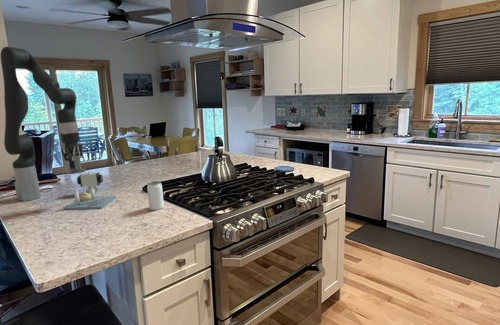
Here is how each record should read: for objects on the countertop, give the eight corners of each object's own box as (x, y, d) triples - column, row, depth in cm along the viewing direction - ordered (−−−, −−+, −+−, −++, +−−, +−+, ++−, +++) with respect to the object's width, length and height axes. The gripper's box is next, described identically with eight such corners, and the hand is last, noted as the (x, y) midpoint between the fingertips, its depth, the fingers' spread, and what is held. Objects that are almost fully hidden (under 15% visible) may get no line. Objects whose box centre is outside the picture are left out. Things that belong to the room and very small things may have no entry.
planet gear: (63, 174, 148) (60, 157, 146) (73, 170, 155) (70, 154, 154) (80, 173, 147) (77, 156, 146) (88, 169, 155) (86, 153, 153)
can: (150, 211, 141) (148, 185, 138) (148, 207, 146) (145, 182, 144) (165, 208, 143) (162, 183, 141) (162, 204, 149) (159, 180, 147)
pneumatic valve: (102, 193, 170) (99, 172, 167) (79, 195, 167) (75, 173, 165) (105, 190, 175) (102, 169, 172) (82, 192, 173) (79, 171, 170)
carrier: (63, 209, 146) (60, 192, 145) (81, 198, 162) (79, 182, 160) (101, 208, 146) (99, 191, 144) (116, 197, 162) (114, 181, 160)
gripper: (70, 130, 154) (76, 164, 158) (51, 134, 140) (59, 171, 144) (85, 129, 154) (91, 164, 158) (68, 133, 140) (75, 170, 144)
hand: (75, 167), depth 151 cm, fingers closed on planet gear, 4 cm apart
